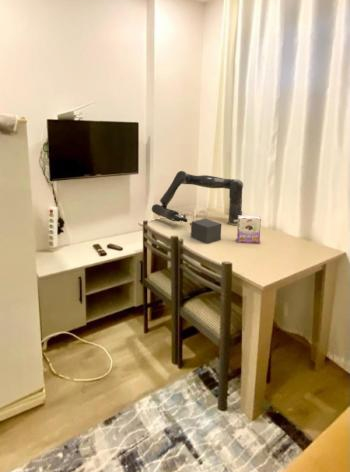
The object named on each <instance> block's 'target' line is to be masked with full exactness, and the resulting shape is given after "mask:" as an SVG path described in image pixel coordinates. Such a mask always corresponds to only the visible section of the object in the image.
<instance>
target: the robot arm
mask: <svg viewBox="0 0 350 472" xmlns="http://www.w3.org/2000/svg"><path fill="white" fill-rule="evenodd" d="M181 185H193V186H197V187H202V188H207V189H227V190H229V200H228V201H229V203H228V205H229V206H228V221H227V223H228V224H229V225H231V226H238V215H240V216H243V210H242V208H243V189H244V182H243V181H242V180H240V179H237V178H236V179H234V178H223V177H218V176H213V175H209V174H208V175H207V174H206V175H205V174H200V175H194V174H189V173H187V172H186V171H184V170H180V171H178V172H177V173H176V174H175V176H174V178H173V180H172V182H171V184H170V185H169V187H168V189H167V190H166V191H165V192H164V194H163V195H162V197H160V199H159V202H160V204H158V203H154V204H153V205H152V206H151V212H152V213H153V214H154V215H157V216H158V217H163V218H165V219H167V220H169V221H171V222H183V223H188V218H187V215H186V214H183V215H182V214H180V213H179V212H178V211H176V210H173V209H171V208H167V207H168V205H169V204H170V202H171V201H172V200H173V198H174V196H175V195H176V192H177V191H178V188H180V186H181Z"/></svg>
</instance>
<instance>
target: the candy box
mask: <svg viewBox="0 0 350 472" xmlns="http://www.w3.org/2000/svg"><path fill="white" fill-rule="evenodd" d="M261 221H262V218H261V217H260V216H259V215H242V216H240V215H238V225H236V226H237V227H236V242H237V243H242V244H243V243H245V244H260V237H261V224H262V223H261Z"/></svg>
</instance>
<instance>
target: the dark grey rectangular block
mask: <svg viewBox="0 0 350 472" xmlns="http://www.w3.org/2000/svg"><path fill="white" fill-rule="evenodd" d="M191 222H192V229H191V228H190V237H191V238H192V239H194V240H197V241H199V242H201V243H204V244H206V245H207V244H211V243H213V242H216V241H217V242H218V241H220V240H221V239H222V223H220V222H217V221H215V220H212V219H209V218H207V217H205V218H201V219H198V220H193V221H191Z"/></svg>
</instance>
